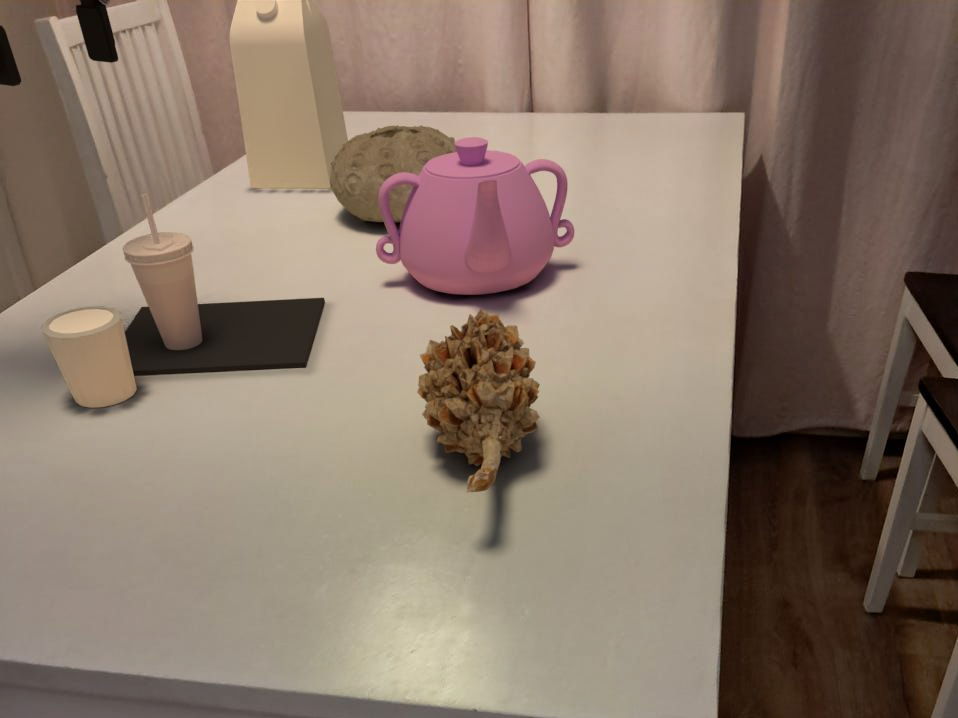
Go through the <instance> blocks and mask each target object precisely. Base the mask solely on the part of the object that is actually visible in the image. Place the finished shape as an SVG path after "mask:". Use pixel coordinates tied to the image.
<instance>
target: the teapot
mask: <svg viewBox="0 0 958 718" xmlns="http://www.w3.org/2000/svg"><path fill="white" fill-rule="evenodd" d="M454 144H455V148H456V151H457V152H454V153H449V154H445V155H441V156H438V157H435V158H433V159H431V160H429V161H428V162H427V163H426V164H425V165H424V167H423V169H422V170H421V172H420V174H419V176H417V175H415V174H412V173H407V172H402V173H397V174H395V175H393V176H391V177H389V178H388V179H387V180H386V181H385V182H384V183H383V184H382V186H381V188H380V191H379V196H378V201H379V208H380V212H381V215H382V218H383V221H384V222H383V223H384V226H385V229H386V230H387V233H388V235H383V236H381V237H380V238H379V239H378V240H377V242H376V244H375V245H376V246H375V253H376V256H377V258H378V259H379V260H380V261H381V262H383V263H385V264H388V265H396V264H398V263H399V262H401V264H402V266H403V267H404V268H405V270H406V271H407V272H408V273H409V274H410V275H411V276H412V277H413V278H414V279H415V280H416V281H417V282H418V283H419V284H421V285H422V286H423V287H425V288H427V289H430V290H433V291H435V292H439V293H444V294H449V295H463V296H464V295H465V296H466V295H467V296H468V295H469V296H471V295H472V296H473V295H475V296H476V295H488V294H496V293H501V292H506V291H510V290H514V289H517V288H519V287H521V286H524V285H526V284H528V283H530V282H532V281H533V280H534V279H535V278H536V277H538V275H539V274H540V273H541V272H542V270H543V269H544V268H545V267H546V265H547V264H548V263H549V261H550V259H551V258H552V256H553V252H554V250H555V248H563V247H566V246H568V245H570V243H572V241H573V240H574V238H575V227H574V224H573V223H572V221H570V220H569V219H566V218H564V219H561V218H562V215H563V211H564V208H565V204H566V200H567V195H568V187H569V186H568V177H567V175H566V171H565V170H564V169H563V167H561V165H559V164H558V163H556V162H555V161H552V160H550V159H547V158H546V159H545V158H538V159H534V160H532V161H530V162H527V163H526V164H525V165H524V163H523V162H522V161H521V159H519V158H518V156H516V155H514V154H512V153H509V152H506V151H505V152H504V151H499V150H489V149H488V144H489V141H488V139H485V138H484V137H478V136H474V137H473V136H472V137H463V138H460V139H457V140H456V141H455V143H454ZM487 149H488V150H487ZM539 172H549V173H552V174H553V175H554V176H555V178H556V192H555V193H556V194H555V199H554V202H553V207H552V210H551V213H550V212H549V209H548V207H547V204H546V202H545V200H544V198H543V195H542V194H541V192H540V189H539V187H538V186H537V183H536V182H535V180H534V179H533V177H532V176H531V175H532V174H536V173H539ZM405 184H406V185H413V188H412V190H411V193H410V195H409V197H408V200H407V203H406V205H405V208H404V211H403V215H402V219H401V222H399V223H400V224H399V229H398V227H397V225H396V222H394V220H393V217H392V214H391V211H390V207H389V193H390V191H391V190H392V189H393V188H394V187H396V186H399V185H405ZM562 228H565V229H566V232H565V233H564V234H563V235H561V236H560V235H559V234H558V231H559V229H562ZM387 244H391V245H392V248H393V249H392V250H393V251H392V252H387V251H386V250H385V249H384V248H385V245H387Z"/></svg>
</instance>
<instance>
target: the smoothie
mask: <svg viewBox="0 0 958 718" xmlns="http://www.w3.org/2000/svg"><path fill="white" fill-rule="evenodd" d="M140 197H141V199H142V200H141V201H142V205H143V207H144V212H145V216H146V218H147V222H148V226H149V230H150V233H149V234H145V235H140V236H137V237H135V238H132V239H131V240H129V241H127V242H125V244H124V245H123V246H122V251H123V255H124V261H126V262H127V263H128V264H130V266H131V269H132V271H133V273H134V276H135V279H136V281H137V283H138V285H139V287H140V290H141V292H142V295H143V297H144V299H145V302H146V305H147V307H149V309H150V311H151V313H152V316H153V318H154V321H155V323H156V325H157V328H158V330H159V332H160V335H161V337H162V339H163V342H164V344H165V346H166V348H168V349H171V350H185V349H190V348H193V347H195V346H197V345H199V344H200V343H201V342H202V333H201V325H200V317H199V309H198V304H199V303H198V295H197V287H196V280H195V270H194V263H193V257H192V254H193V252H194V250H195V248H194V246H193V242H192V238H191V236H190V235H188V234H186V233H182V232H177V231H163V232H158V228H157V224H156V221H155V217H154V214H153V210H152V206H151V201H150V199H149V195H148V194H147V193H143V194H140Z"/></svg>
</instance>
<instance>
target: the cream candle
mask: <svg viewBox="0 0 958 718" xmlns="http://www.w3.org/2000/svg"><path fill="white" fill-rule="evenodd" d="M41 333H42V335H43V337H44V340H45V342H46V343H47V347H48V348H49V350H50V352H51V354H52V356H53V358H54V360H55V362H56V364H57V367H58V368H59V371H60V372H61V374H62V377H63V379H64V382H65V383H66V385H67V387H68V389H69V391H70V393H71V396H72V397H73V399H74V401H75V403H76V404H77V405H79V406H81V407H85V408H90V409H91V408H93V409H95V408H105V407H111V406H115V405H118V404H120V403H123V402H125V401H127V400H128V399H130V398H131V397H133V396H134V395H135V394H136V392H137V391H138V388H137V383H136V378H135V375H134V374H133V369H132V365H131V360H130V355H129V351H128V346H127V341H126V337H125V328H124V324H123V319H122V314H121V311H120V310H118V309H116V308H114V307H111V306H103V305H101V306H100V305H97V306H96V305H95V306H93V305H92V306H83V307H78V308H72V309H69V310H66V311H63V312H60V313H57V314H55V315H53V316H51V317H49V318H48V319H46V320H45V321H44V323H42V325H41Z"/></svg>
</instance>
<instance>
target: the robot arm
mask: <svg viewBox="0 0 958 718" xmlns="http://www.w3.org/2000/svg"><path fill="white" fill-rule="evenodd" d="M79 2H80V3H79V4H75V13H76V17H77V20H78V24H79V27H80V30H81V34H82V38H83V42H84V45H85V49H86V52H87V55H88V58H89V59H90V60H91V61H93V62H101V63H110V64H112V63H117V62H119V55H118V51H117V47H116V40H115V36H114V32H113V28H112V25H111V20H110V16H109V13H108V8H107V6H108V5H109V4H110V3H111V0H79ZM21 83H22V77H21V74H20V71H19V68H18V65H17V62H16V60H15V56H14V53H13V50H12V47H11V44H10V40H9V37H8V35H7V32H6V29H5V28H4V27H3V25H2V24H1V25H0V85H3V86H7V87H8V86H9V87H16V86H20V85H21Z"/></svg>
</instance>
